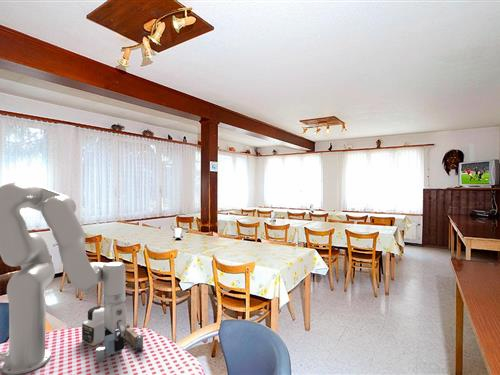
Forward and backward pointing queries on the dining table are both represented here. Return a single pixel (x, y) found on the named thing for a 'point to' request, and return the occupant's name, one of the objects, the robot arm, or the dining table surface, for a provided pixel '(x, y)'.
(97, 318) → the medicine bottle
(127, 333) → the tan wooden plank
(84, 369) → the dining table surface
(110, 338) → the block
